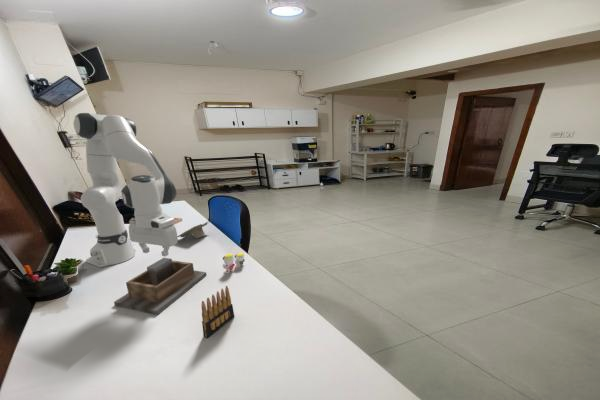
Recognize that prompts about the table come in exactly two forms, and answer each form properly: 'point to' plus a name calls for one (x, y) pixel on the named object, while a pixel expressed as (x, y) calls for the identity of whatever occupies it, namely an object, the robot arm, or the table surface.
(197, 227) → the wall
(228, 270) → the toy figures
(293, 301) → the table surface
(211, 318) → the bullet clip
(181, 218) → the orange square frame
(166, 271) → the metal bracket
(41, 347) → the table surface
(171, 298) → the well box
